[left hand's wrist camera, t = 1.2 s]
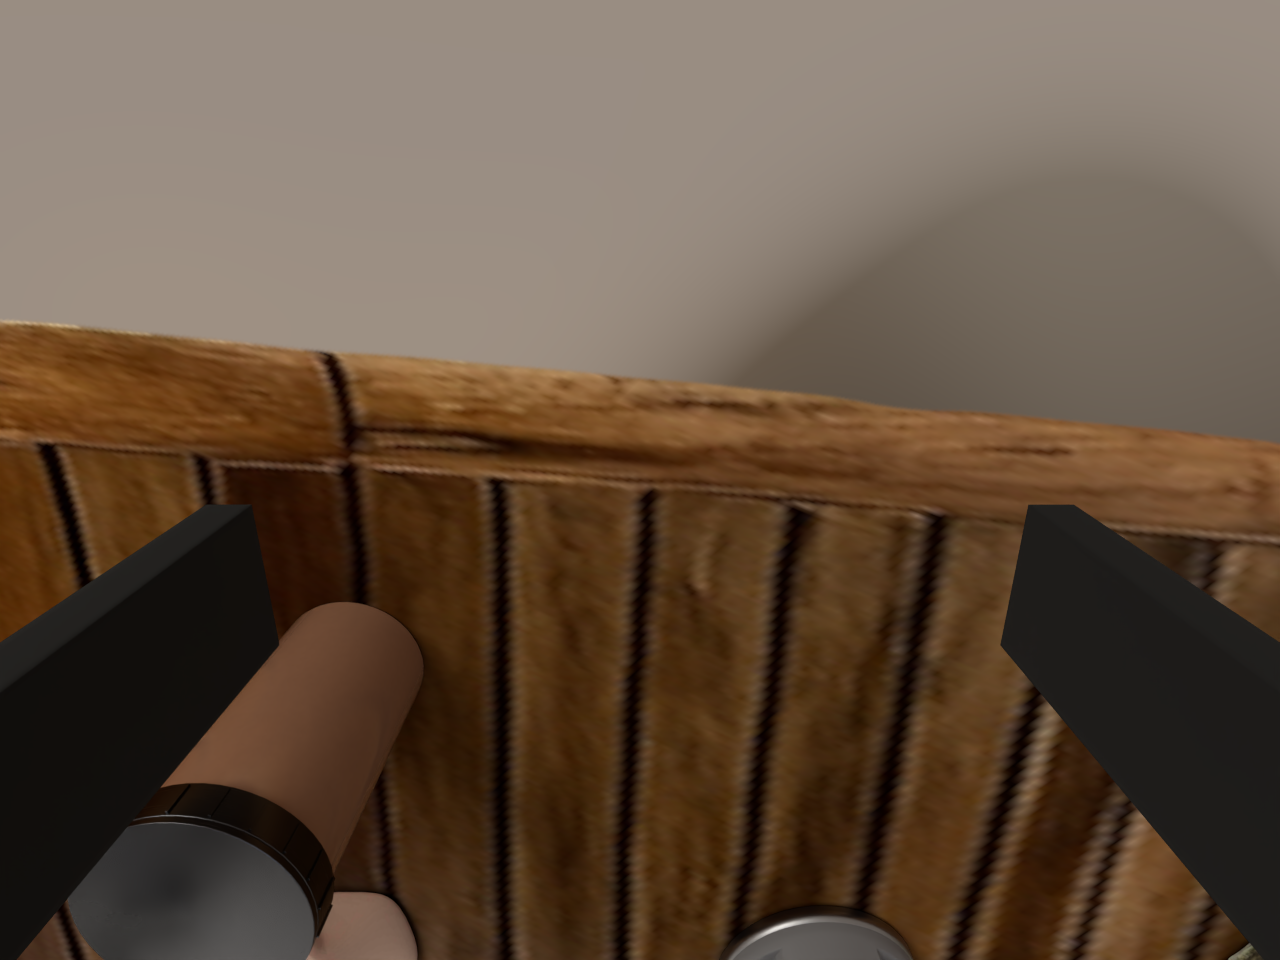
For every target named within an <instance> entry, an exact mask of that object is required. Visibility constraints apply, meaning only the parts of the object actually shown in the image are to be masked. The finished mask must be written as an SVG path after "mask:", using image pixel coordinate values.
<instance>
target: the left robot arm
mask: <svg viewBox="0 0 1280 960" xmlns="http://www.w3.org/2000/svg"><path fill="white" fill-rule="evenodd" d="M278 646H279V640H278V635H277V630H276V625H275V620H274V615H273V610H272V605H271V600H270V595H269V590H268V585H267V580H266V575H265V570H264V565H263V560H262V555H261V550H260V545H259V540H258V535H257V530H256V525H255V520H254V515H253V510H252V505H205V506H204V507H202V508H201V509H199V510H198V511H196V512H195V513H193V514H192V515H190V516H189V517H187V518H186V519H184V520H183V521H181V522H180V523H178V524H177V525H175V526H174V527H172V528H171V529H169V530H168V531H166V532H165V533H163V534H162V535H160V536H159V537H157V538H156V539H154V540H153V541H151V542H150V543H148V544H147V545H145V546H144V547H142V548H141V549H139V550H138V551H136V552H135V553H133V554H132V555H130V556H129V557H127V558H126V559H124V560H123V561H121V562H120V563H118V564H117V565H115V566H114V567H112V568H111V569H109V570H108V571H106V572H105V573H104V574H102V575H101V576H99V577H98V578H96V579H95V580H93V581H92V582H90V583H89V584H87V585H86V586H84V587H83V588H81V589H80V590H78V591H77V592H75V593H74V594H72V595H71V596H69V597H68V598H66V599H65V600H63V601H62V602H60V603H59V604H57V605H56V606H54V607H53V608H51V609H50V610H48V611H47V612H45V613H44V614H42V615H41V616H39V617H38V618H36V619H35V620H33V621H32V622H30V623H29V624H27V625H26V626H24V627H23V628H21V629H20V630H18V631H17V632H15V633H14V634H12V635H11V636H9V637H8V638H6V639H5V640H3V641H2V642H0V960H17V958H18V957H19V956H20V955H21V954H22V952H23V951H24V950H25V949H26V948H27V946H28V945H29V944H30V943H31V942H32V940H33V939H34V938H35V937H36V936H37V934H38V933H39V932H40V931H41V930H42V928H43V927H44V926H45V925H46V924H47V922H48V921H49V920H50V919H51V918H52V917H53V915H54V914H55V913H56V912H57V911H58V909H59V908H60V907H61V906H62V905H63V903H64V902H65V901H66V900H67V899H68V897H69V896H70V895H71V894H72V893H73V891H74V890H75V889H76V888H77V887H78V885H79V884H80V883H81V882H82V881H83V879H84V878H85V877H86V876H87V875H88V873H89V872H90V871H91V870H92V869H93V867H94V866H95V865H96V864H97V863H98V862H99V860H100V859H101V858H102V857H103V856H104V854H105V853H106V852H107V851H108V850H109V848H110V847H111V846H112V845H113V844H114V842H115V841H116V840H117V839H118V838H119V836H120V835H121V834H122V833H123V832H124V830H125V829H126V828H127V827H128V826H129V824H130V823H131V822H132V821H133V820H134V818H135V817H136V816H137V815H138V814H139V813H140V811H141V810H142V809H143V808H144V807H145V805H146V804H147V803H148V802H149V801H150V799H151V798H152V797H153V796H154V795H155V793H156V792H157V791H158V790H159V789H160V787H161V786H162V785H163V784H164V783H165V781H166V780H167V779H168V778H169V777H170V775H171V774H172V773H173V772H174V771H175V769H176V768H177V767H178V766H179V765H180V764H181V762H182V761H183V760H184V759H185V758H186V756H187V755H188V754H189V753H190V752H191V750H192V749H193V748H194V747H195V746H196V744H197V743H198V742H199V741H200V740H201V738H202V737H203V736H204V735H205V734H206V732H207V731H208V730H209V729H210V728H211V726H212V725H213V724H214V723H215V722H216V720H217V719H218V718H219V717H220V716H221V715H222V713H223V712H224V711H225V710H226V709H227V707H228V706H229V705H230V704H231V703H232V701H233V700H234V699H235V698H236V697H237V695H238V694H239V693H240V692H241V691H242V689H243V688H244V687H245V686H246V685H247V683H248V682H249V681H250V680H251V679H252V677H253V676H254V675H255V674H256V673H257V671H258V670H259V669H260V668H261V667H262V666H263V664H264V663H265V662H266V661H267V660H268V658H269V657H270V656H271V655H272V654H273V652H274V651H275V650H276V649H277V648H278ZM1001 646H1002V648H1003V649H1004V650H1005V651H1006V652H1007V654H1008V655H1009V656H1010V657H1011V658H1012V660H1013V661H1014V662H1015V663H1016V664H1017V666H1018V667H1019V668H1020V669H1021V670H1022V671H1023V673H1024V674H1025V675H1026V676H1027V677H1028V679H1029V680H1030V681H1031V682H1032V683H1033V685H1034V686H1035V687H1036V688H1037V689H1038V691H1039V692H1040V693H1041V694H1042V695H1043V697H1044V698H1045V699H1046V700H1047V701H1048V703H1049V704H1050V705H1051V706H1052V707H1053V709H1054V710H1055V711H1056V712H1057V713H1058V715H1059V716H1060V717H1061V718H1062V719H1063V720H1064V722H1065V723H1066V724H1067V725H1068V726H1069V728H1070V729H1071V730H1072V731H1073V732H1074V734H1075V735H1076V736H1077V737H1078V738H1079V740H1080V741H1081V742H1082V743H1083V744H1084V746H1085V747H1086V748H1087V749H1088V750H1089V752H1090V753H1091V754H1092V755H1093V756H1094V758H1095V759H1096V760H1097V761H1098V762H1099V764H1100V765H1101V766H1102V767H1103V768H1104V769H1105V771H1106V772H1107V773H1108V774H1109V775H1110V777H1111V778H1112V779H1113V780H1114V781H1115V783H1116V784H1117V785H1118V786H1119V787H1120V789H1121V790H1122V791H1123V792H1124V793H1125V795H1126V796H1127V797H1128V798H1129V799H1130V801H1131V802H1132V803H1133V804H1134V805H1135V807H1136V808H1137V809H1138V810H1139V811H1140V813H1141V814H1142V815H1143V816H1144V817H1145V818H1146V820H1147V821H1148V822H1149V823H1150V824H1151V826H1152V827H1153V828H1154V829H1155V830H1156V832H1157V833H1158V834H1159V835H1160V836H1161V838H1162V839H1163V840H1164V841H1165V842H1166V844H1167V845H1168V846H1169V847H1170V848H1171V850H1172V851H1173V852H1174V853H1175V854H1176V856H1177V857H1178V858H1179V859H1180V860H1181V862H1182V863H1183V864H1184V865H1185V866H1186V867H1187V869H1188V870H1189V871H1190V872H1191V873H1192V875H1193V876H1194V877H1195V878H1196V879H1197V881H1198V882H1199V883H1200V884H1201V885H1202V887H1203V888H1204V889H1205V890H1206V891H1207V893H1208V894H1209V895H1210V896H1211V897H1212V899H1213V900H1214V901H1215V902H1216V903H1217V905H1218V906H1219V907H1220V908H1221V909H1222V911H1223V912H1224V913H1225V914H1226V915H1227V917H1228V918H1229V919H1230V920H1231V921H1232V922H1233V924H1234V925H1235V926H1236V927H1237V928H1238V930H1239V931H1240V932H1241V933H1242V934H1243V936H1244V937H1245V938H1246V939H1247V940H1248V942H1249V943H1250V944H1251V945H1252V946H1253V948H1254V949H1255V950H1256V951H1257V952H1258V954H1259V955H1260V956H1261V957H1262V958H1263V960H1280V642H1278V641H1277V640H1275V639H1274V638H1272V637H1271V636H1269V635H1268V634H1266V633H1265V632H1263V631H1262V630H1260V629H1259V628H1257V627H1256V626H1254V625H1253V624H1251V623H1250V622H1248V621H1247V620H1245V619H1244V618H1242V617H1241V616H1239V615H1238V614H1236V613H1235V612H1233V611H1232V610H1230V609H1229V608H1227V607H1226V606H1224V605H1223V604H1221V603H1220V602H1218V601H1217V600H1215V599H1214V598H1212V597H1211V596H1209V595H1208V594H1206V593H1205V592H1203V591H1202V590H1200V589H1199V588H1197V587H1196V586H1194V585H1193V584H1191V583H1190V582H1188V581H1187V580H1185V579H1184V578H1182V577H1181V576H1179V575H1178V574H1176V573H1175V572H1174V571H1172V570H1171V569H1169V568H1168V567H1166V566H1165V565H1163V564H1162V563H1160V562H1159V561H1157V560H1156V559H1154V558H1153V557H1151V556H1150V555H1148V554H1147V553H1145V552H1144V551H1142V550H1141V549H1139V548H1138V547H1136V546H1135V545H1133V544H1132V543H1130V542H1129V541H1127V540H1126V539H1124V538H1123V537H1121V536H1120V535H1118V534H1117V533H1115V532H1114V531H1112V530H1111V529H1109V528H1108V527H1106V526H1105V525H1103V524H1102V523H1100V522H1099V521H1097V520H1096V519H1094V518H1093V517H1091V516H1090V515H1088V514H1087V513H1085V512H1084V511H1082V510H1081V509H1079V508H1078V507H1076V506H1075V505H1028V510H1027V515H1026V520H1025V525H1024V530H1023V535H1022V540H1021V545H1020V550H1019V555H1018V560H1017V565H1016V570H1015V575H1014V580H1013V585H1012V590H1011V595H1010V600H1009V605H1008V610H1007V615H1006V620H1005V625H1004V630H1003V635H1002V640H1001ZM719 960H913V957H912V955H911V952H910V950H909V948H908V946H907V944H906V942H905V941H904V939H903V938H902V937H901V936H900V935H899V933H898V932H896V931H895V930H894V929H893V928H892V927H891V926H889V925H888V924H887V923H885V922H883V921H882V920H880V919H878V918H876V917H874V916H872V915H870V914H867V913H864V912H861V911H858V910H854V909H850V908H844V907H837V906H808V907H800V908H794V909H790V910H786V911H782V912H779V913H776V914H773V915H771V916H768V917H766V918H763V919H761V920H760V921H758V922H756V923H754V924H752V925H751V926H749V927H748V928H746V929H745V930H744V931H742V932H741V933H740V934H739V935H737V936H736V937H735V938H734V939H733V940H732V941H731V943H730V944H729V945H728V946H727V947H726V949H725V950H724V952H723V953H722V955H721V957H720V959H719Z"/></svg>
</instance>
